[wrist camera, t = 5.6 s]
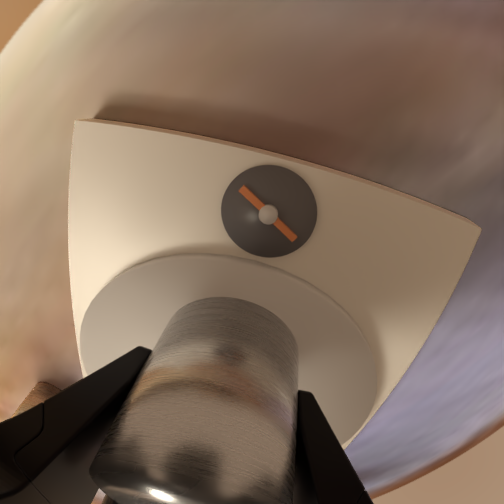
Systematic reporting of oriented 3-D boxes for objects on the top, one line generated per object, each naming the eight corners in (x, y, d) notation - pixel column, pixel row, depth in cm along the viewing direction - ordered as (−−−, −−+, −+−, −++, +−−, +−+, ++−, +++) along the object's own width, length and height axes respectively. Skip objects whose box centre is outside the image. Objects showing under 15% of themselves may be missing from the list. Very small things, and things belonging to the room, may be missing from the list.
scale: (318, 463, 15) (317, 484, 14) (99, 404, 15) (88, 422, 14) (468, 218, 9) (489, 234, 7) (92, 118, 9) (65, 121, 8)
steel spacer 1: (88, 430, 17) (58, 484, 13) (43, 407, 17) (11, 454, 13) (79, 398, 16) (41, 458, 11) (30, 372, 16) (-10, 423, 11)
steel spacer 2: (276, 409, 10) (260, 545, 5) (161, 378, 10) (103, 502, 5) (318, 319, 8) (326, 500, 4) (170, 279, 8) (70, 429, 4)
